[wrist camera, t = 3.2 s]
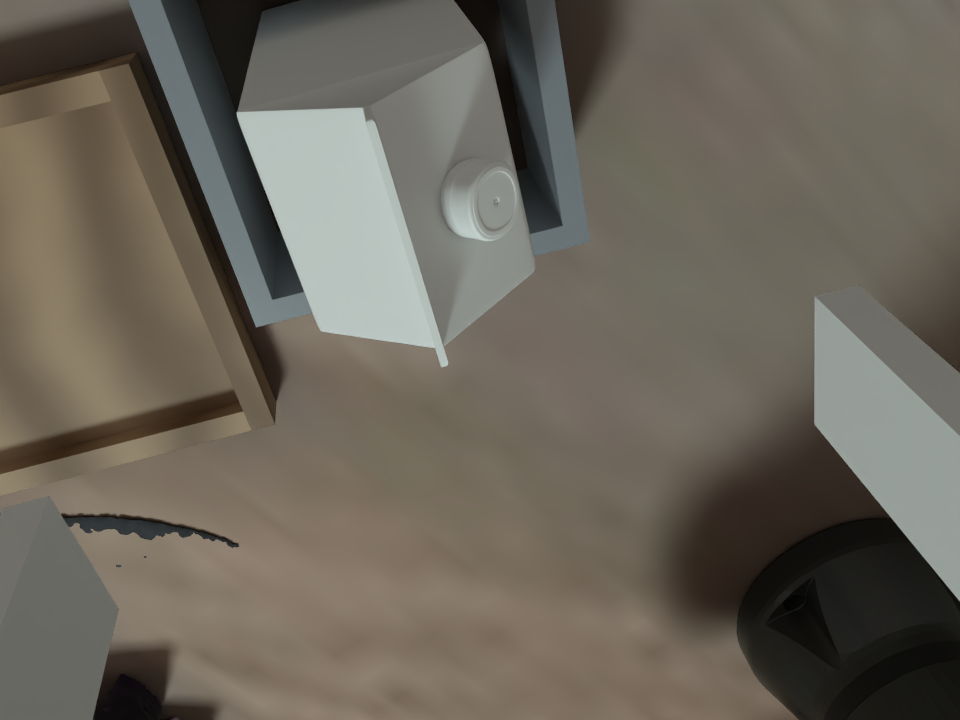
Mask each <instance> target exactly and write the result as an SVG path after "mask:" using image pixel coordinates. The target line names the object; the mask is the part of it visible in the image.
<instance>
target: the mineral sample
mask: <svg viewBox="0 0 960 720" xmlns="http://www.w3.org/2000/svg"><path fill="white" fill-rule="evenodd" d="M63 519H64V520H65V522H66V524H67V525H68V526H69V527H71V526H73V524H74V523H79V524H80V528H81V529H83V530H84V531H85V532H86V533H92V531H91V530H90V529H91V528H92V529H93V530H95V531H102V530H105V529H116V530H117V531H118V532H119V533H120V534H124V535H128V534H130V533H132V532H135V533H136V534H138V535H139V536H140V537H141V538H144V539H148V540H152V539H153V538H155V536H156V535H159V536H161V537H163V536H164V535H165V533H167V534H170V533H172V532H178V533H179V536H181V537H182V538H184V537H188V536H191V535H192V534H193V532H194V533H195V534H198V535H200V536H202V538H203V539H208V538H209V539H210V540H211V541H215V539H218V540H220V541H222V542H227V545H228V546H230V547H232V548H233V547H239V546H238V544H232V543H231V542H230V541H228V540H226V539H223V538H219V537H215V536H212V535H209V534H208V533H206V534H205V533H203V532H197V531H193V530H190V529H186V528H183V527H182V528H181V527H174V526H169V525H165V524H162V523H153V522H150V521H143V520H129V519H123V518H119V519H116V518H114V517H99V518H97V517H89V518H88V517H77V518H73V517H72V518H65V517H63ZM144 558H146V556H144ZM116 567H121V565H116ZM161 715H162V707H161V705H160V703H159V701H158V699H157V697H156V696H154V695H153V694H151V692H150V691H149V690H148V689H147V688H146V687H145V686H144V685H143V684H142V683H140V682H139V681H136V680H134V679H132V678H130V677H128V676H127V675H126V674H121V675H120V677H119V679H118V680H117V682H116V684H115V685H114V687H113V688H112V689H111V690H110V692H109V693H108V694H107V696H106V699H105V700H104V701H103V703H102V705H101V707H100V708H99V710H98V711H97V713H95V715H94V716H93V720H160V718H161ZM168 720H180V718H178V717H172V718H169V719H168Z"/></svg>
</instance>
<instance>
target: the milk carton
mask: <svg viewBox="0 0 960 720" xmlns="http://www.w3.org/2000/svg"><path fill="white" fill-rule="evenodd" d="M236 114H237V118H238V121H239V124H240V127H241V130H242V132H243V135H244V138H245V140H246V143H247V145H248V148H249V151H250V153H251V156H252V158H253V161H254V164H255V166H256V169H257V171H258V174H259V176H260V179H261V182H262V184H263V187H264V189H265V192H266V194H267V197H268V200H269V202H270V205H271V207H272V210H273V212H274V215H275V218H276V220H277V223H278V225H279V228H280V230H281V233H282V236H283V238H284V241H285V243H286V246H287V248H288V251H289V254H290V256H291V259H292V261H293V264H294V266H295V269H296V272H297V274H298V277H299V279H300V282H301V285H302V287H303V290H304V292H305V295H306V297H307V300H308V302H309V305H310V308H311V310H312V313H313V315H314V318H315V320H316V322H317V324H318V327H319V329H320V330H321V331H322V332H328V333H335V334H342V335H349V336H356V337H363V338H370V339H376V340H383V341H390V342H397V343H404V344H411V345H418V346H425V347H431V348H435V349H436V352H437V355H438V358H439V362H440V365H441V367H444V366H447V365H448V361H447V357H446V354H445V350H444V346H445V345H446V344H447V343H449V342H450V341H451V340H452V339H454V338H455V337H456V336H457V335H458V334H460V333H461V332H462V331H463V330H464V329H466V328H467V327H468V326H469V325H470V324H472V323H473V322H474V321H475V320H476V319H478V318H479V317H480V316H481V315H482V314H484V313H485V312H486V311H487V310H489V309H490V308H491V307H492V306H493V305H495V304H496V303H497V302H498V301H499V300H501V299H502V298H503V297H504V296H505V295H507V294H508V293H509V292H510V291H512V290H513V289H514V288H515V287H516V286H518V285H519V284H520V283H521V282H522V281H524V280H525V279H526V278H527V277H528V276H530V275H531V274H532V273H533V272H534V271H535V257H534V252H533V246H532V241H531V237H530V232H529V227H528V223H527V218H526V214H525V209H524V205H523V200H522V196H521V191H520V187H519V182H518V178H517V173H516V169H515V164H514V160H513V155H512V151H511V146H510V142H509V137H508V133H507V128H506V124H505V119H504V115H503V110H502V106H501V101H500V97H499V93H498V88H497V84H496V79H495V75H494V71H493V67H492V63H491V59H490V55H489V52H488V49H487V45H486V43H485V41H484V40H483V38H482V37H481V35H480V34H479V33H478V31H477V30H476V29H475V27H474V26H473V25H472V23H471V22H470V21H469V20H468V18H467V17H466V16H465V14H464V13H463V12H462V10H461V9H460V8H459V6H458V5H457V4H456V2H455V1H454V0H299V1H296V2H292V3H289V4H285V5H282V6H278V7H275V8H271V9H267V10H264V11H262V13H261V17H260V21H259V26H258V30H257V34H256V38H255V42H254V46H253V50H252V54H251V58H250V62H249V66H248V70H247V75H246V79H245V83H244V87H243V91H242V95H241V99H240V103H239V107H238V111H237V113H236Z"/></svg>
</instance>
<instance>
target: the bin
mask: <svg viewBox="0 0 960 720" xmlns="http://www.w3.org/2000/svg"><path fill="white" fill-rule="evenodd" d="M128 1H129V4H130V6H131V9H132V11H133V14H134V16H135V19H136V22H137V24H138V27H139V29H140V32H141V34H142V37H143V40H144V42H145V45H146V47H147V50H148V52H149V55H150V57H151V60H152V63H153V65H154V68H155V70H156V73H157V75H158V78H159V80H160V83H161V86H162V88H163V91H164V93H165V96H166V98H167V101H168V103H169V106H170V109H171V111H172V114H173V116H174V119H175V121H176V124H177V126H178V129H179V132H180V134H181V137H182V139H183V142H184V144H185V147H186V149H187V152H188V155H189V157H190V160H191V162H192V165H193V167H194V170H195V172H196V175H197V178H198V180H199V183H200V185H201V188H202V190H203V193H204V195H205V198H206V201H207V203H208V206H209V208H210V211H211V213H212V216H213V218H214V221H215V224H216V226H217V229H218V231H219V234H220V236H221V239H222V241H223V244H224V247H225V249H226V252H227V254H228V257H229V259H230V262H231V264H232V267H233V270H234V272H235V275H236V277H237V280H238V282H239V285H240V287H241V290H242V293H243V295H244V298H245V300H246V303H247V305H248V308H249V310H250V313H251V316H252V318H253V321H254V323H255V326H256V327H260V326H264V325H268V324H272V323H276V322H279V321H283V320H287V319H291V318H295V317H299V316H303V315H307V314H311V313H312V310H311V308H310V305H309V302H308V300H307V297H306V295H305V292H304V290H303V287H302V285H301V282H300V279H299V277H298V274H297V272H296V269H295V266H294V264H293V261H292V259H291V256H290V254H289V251H288V248H287V246H286V243H285V241H284V238H283V236H282V233H281V231H277V228H276V225H275V222H274V219H273V217H272V214H271V211H270V208H269V205H268V202H267V200H266V197H265V194H264V191H263V188H262V185H261V182H260V180H259V177H258V174H257V171H256V168H255V165H254V163H253V160H252V157H251V154H250V151H249V148H248V146H247V143H246V140H245V138H244V135H243V132H242V130H241V127H240V124H239V121H238V118H237V114H236V112H235V109H234V106H233V103H232V100H231V97H230V94H229V92H228V89H227V86H226V83H225V80H224V77H223V75H222V72H221V69H220V66H219V63H218V60H217V58H216V55H215V52H214V49H213V46H212V43H211V41H210V38H209V35H208V32H207V29H206V26H205V24H204V21H203V18H202V15H201V12H200V9H199V6H198V4H197V1H196V0H128ZM497 1H498V6H499V12H500V18H501V23H502V29H503V34H504V40H505V45H506V51H507V56H508V62H509V67H510V73H511V79H512V84H513V90H514V95H515V101H516V106H517V112H518V117H519V123H520V129H521V134H522V140H523V145H524V151H525V156H526V162H527V167H528V168H526V169H522V170H518V171H516V173H517V178H518V182H519V187H520V191H521V196H522V200H523V205H524V209H525V214H526V218H527V223H528V227H529V232H530V237H531V241H532V246H533V252H534V256H537V255H541V254H545V253H549V252H553V251H557V250H560V249H564V248H568V247H572V246H576V245H580V244H584V243H588V242H590V237H589V231H588V224H587V217H586V210H585V203H584V197H583V190H582V183H581V176H580V170H579V163H578V156H577V149H576V142H575V136H574V129H573V122H572V115H571V109H570V102H569V95H568V88H567V81H566V75H565V68H564V61H563V54H562V48H561V41H560V34H559V27H558V20H557V14H556V7H555V0H497Z"/></svg>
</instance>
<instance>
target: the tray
mask: <svg viewBox="0 0 960 720" xmlns="http://www.w3.org/2000/svg"><path fill="white" fill-rule="evenodd" d="M275 415H276V400H275V398H274V395H273V393H272V390H271V388H270V385H269V383H268V380H267V378H266V375H265V373H264V370H263V368H262V365H261V363H260V360H259V358H258V355H257V353H256V350H255V348H254V345H253V343H252V340H251V338H250V335H249V333H248V330H247V328H246V325H245V323H244V320H243V318H242V315H241V312H240V310H239V307H238V305H237V302H236V300H235V297H234V295H233V292H232V290H231V287H230V285H229V282H228V280H227V277H226V275H225V272H224V270H223V267H222V265H221V262H220V260H219V257H218V255H217V252H216V250H215V247H214V245H213V242H212V240H211V237H210V235H209V232H208V230H207V227H206V225H205V222H204V220H203V217H202V214H201V212H200V209H199V207H198V204H197V202H196V199H195V197H194V194H193V192H192V189H191V187H190V184H189V182H188V179H187V177H186V174H185V172H184V169H183V167H182V164H181V162H180V159H179V157H178V154H177V152H176V149H175V147H174V144H173V142H172V139H171V137H170V134H169V132H168V129H167V127H166V124H165V122H164V119H163V117H162V114H161V111H160V109H159V106H158V104H157V101H156V99H155V96H154V94H153V91H152V89H151V86H150V84H149V81H148V79H147V76H146V74H145V71H144V69H143V66H142V64H141V61H140V59H139V56H138V54H137V52H135V53H131V54H127V55H123V56H119V57H115V58H111V59H107V60H103V61H99V62H95V63H91V64H87V65H82V66H78V67H74V68H70V69H66V70H62V71H58V72H54V73H50V74H46V75H42V76H38V77H34V78H30V79H26V80H21V81H17V82H13V83H9V84H5V85H1V86H0V496H1V495H5V494H9V493H13V492H17V491H21V490H24V489H28V488H32V487H36V486H40V485H44V484H47V483H51V482H55V481H59V480H63V479H67V478H71V477H74V476H78V475H82V474H86V473H90V472H94V471H98V470H101V469H105V468H109V467H113V466H117V465H121V464H124V463H128V462H132V461H136V460H140V459H144V458H148V457H151V456H155V455H159V454H163V453H167V452H171V451H175V450H178V449H182V448H186V447H190V446H194V445H198V444H202V443H205V442H209V441H213V440H217V439H221V438H225V437H228V436H232V435H236V434H240V433H244V432H248V431H252V430H255V429H259V428H263V427H267V426H271V425H275Z"/></svg>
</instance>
